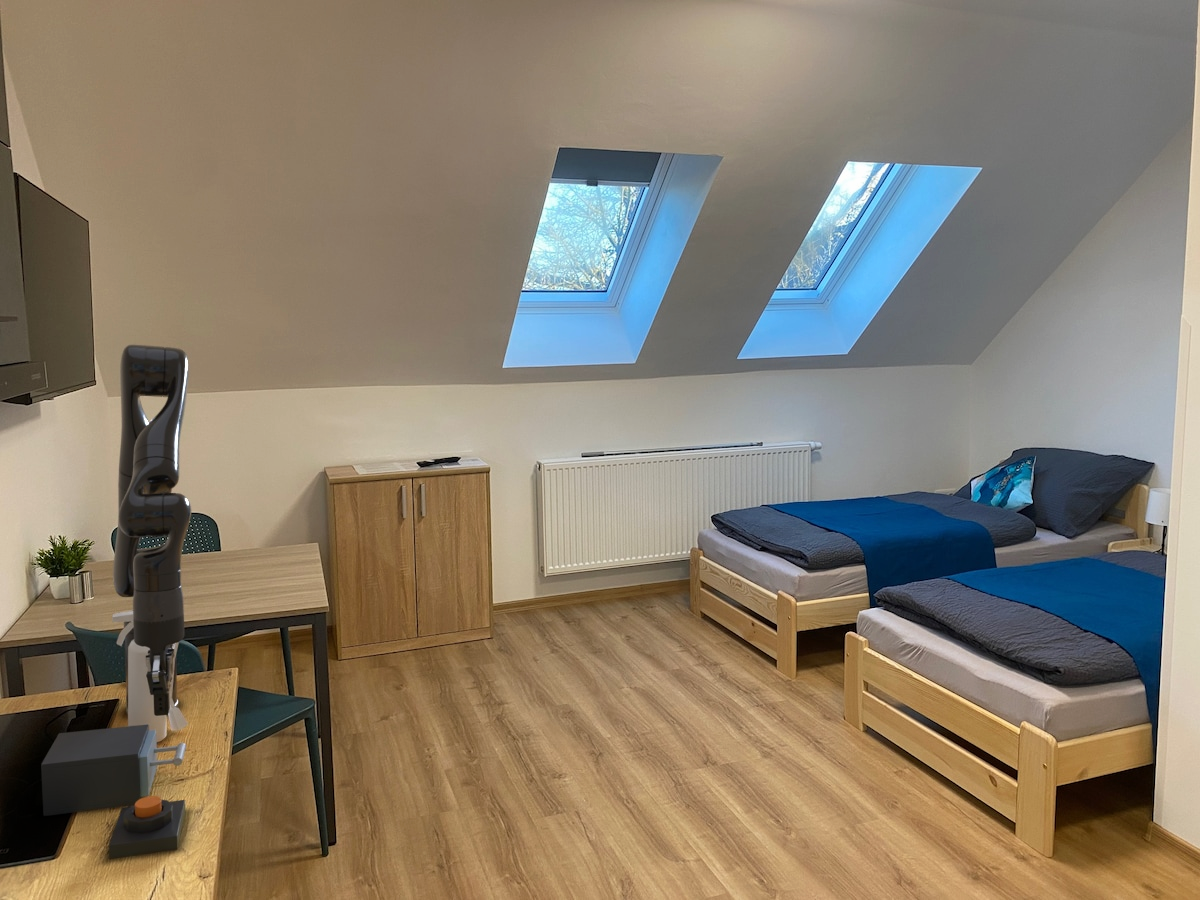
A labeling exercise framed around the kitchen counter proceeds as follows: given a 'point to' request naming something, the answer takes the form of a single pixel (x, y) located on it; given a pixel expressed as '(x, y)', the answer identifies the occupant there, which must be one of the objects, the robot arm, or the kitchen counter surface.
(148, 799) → the button
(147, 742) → the drawer
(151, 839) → the control block
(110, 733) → the drawer housing
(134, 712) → the fire extinguisher
